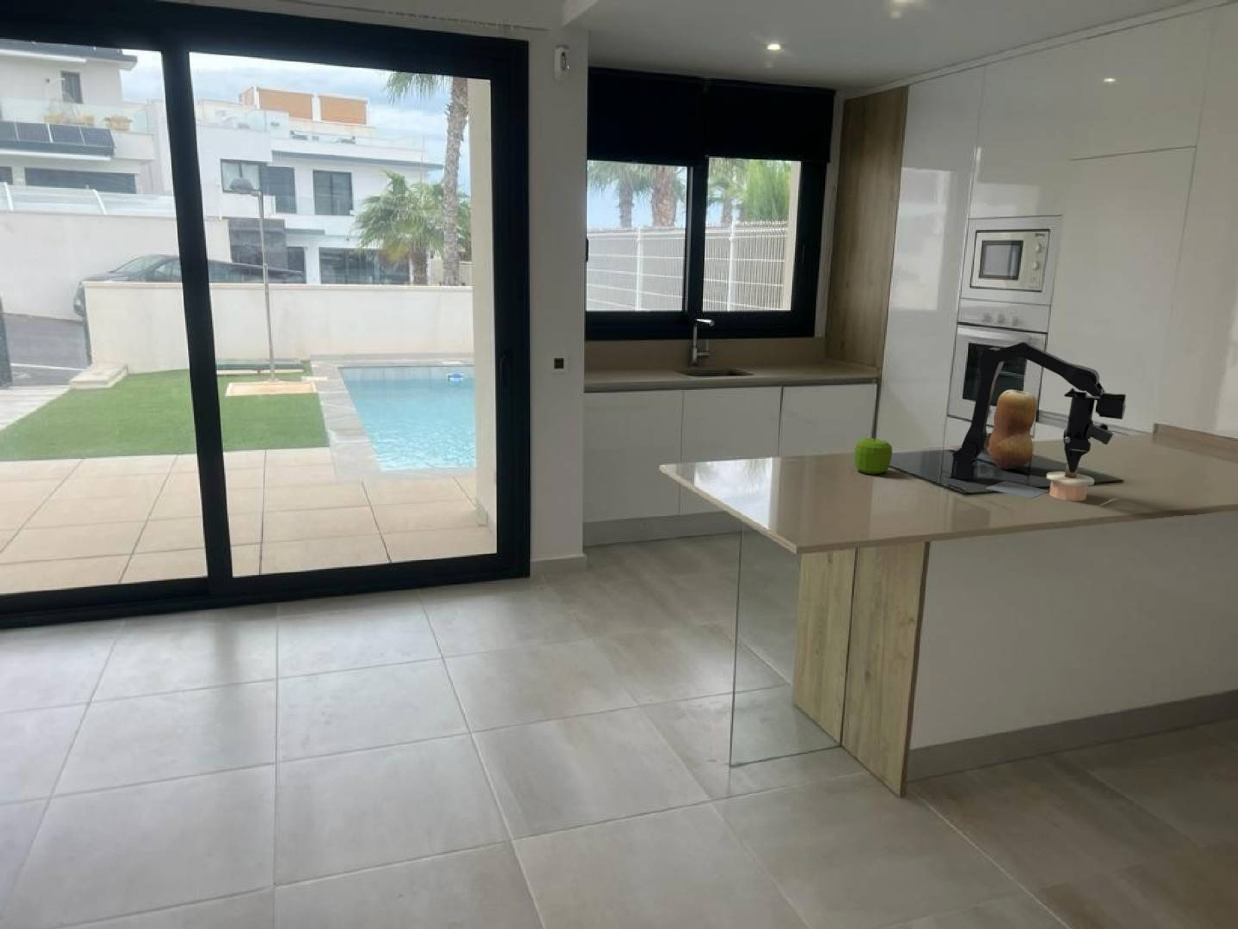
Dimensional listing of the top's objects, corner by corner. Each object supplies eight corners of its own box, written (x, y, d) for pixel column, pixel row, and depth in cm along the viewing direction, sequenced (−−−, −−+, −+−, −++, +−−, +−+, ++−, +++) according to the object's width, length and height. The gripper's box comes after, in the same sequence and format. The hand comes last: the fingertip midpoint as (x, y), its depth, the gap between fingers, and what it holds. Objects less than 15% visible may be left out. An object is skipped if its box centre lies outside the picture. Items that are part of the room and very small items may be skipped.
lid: (1039, 479, 250) (1042, 461, 249) (1056, 472, 258) (1059, 456, 257) (1084, 488, 241) (1087, 470, 240) (1100, 481, 249) (1103, 464, 248)
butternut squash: (1036, 475, 275) (1049, 395, 269) (993, 473, 275) (1004, 393, 269) (1018, 464, 288) (1029, 388, 282) (976, 462, 289) (987, 386, 282)
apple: (897, 475, 269) (901, 440, 266) (866, 477, 265) (870, 441, 262) (875, 466, 279) (879, 432, 276) (845, 468, 275) (849, 433, 273)
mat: (985, 489, 256) (985, 488, 256) (1004, 482, 265) (1005, 481, 265) (1030, 499, 247) (1030, 498, 247) (1049, 492, 256) (1049, 490, 256)
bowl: (1044, 496, 251) (1047, 479, 250) (1057, 491, 257) (1059, 474, 256) (1077, 503, 245) (1080, 486, 243) (1089, 498, 251) (1092, 481, 249)
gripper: (1116, 423, 233) (1106, 480, 237) (1111, 412, 250) (1102, 465, 254) (1069, 418, 238) (1060, 474, 242) (1067, 408, 254) (1059, 460, 258)
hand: (1071, 469), depth 249 cm, fingers open, 9 cm apart
